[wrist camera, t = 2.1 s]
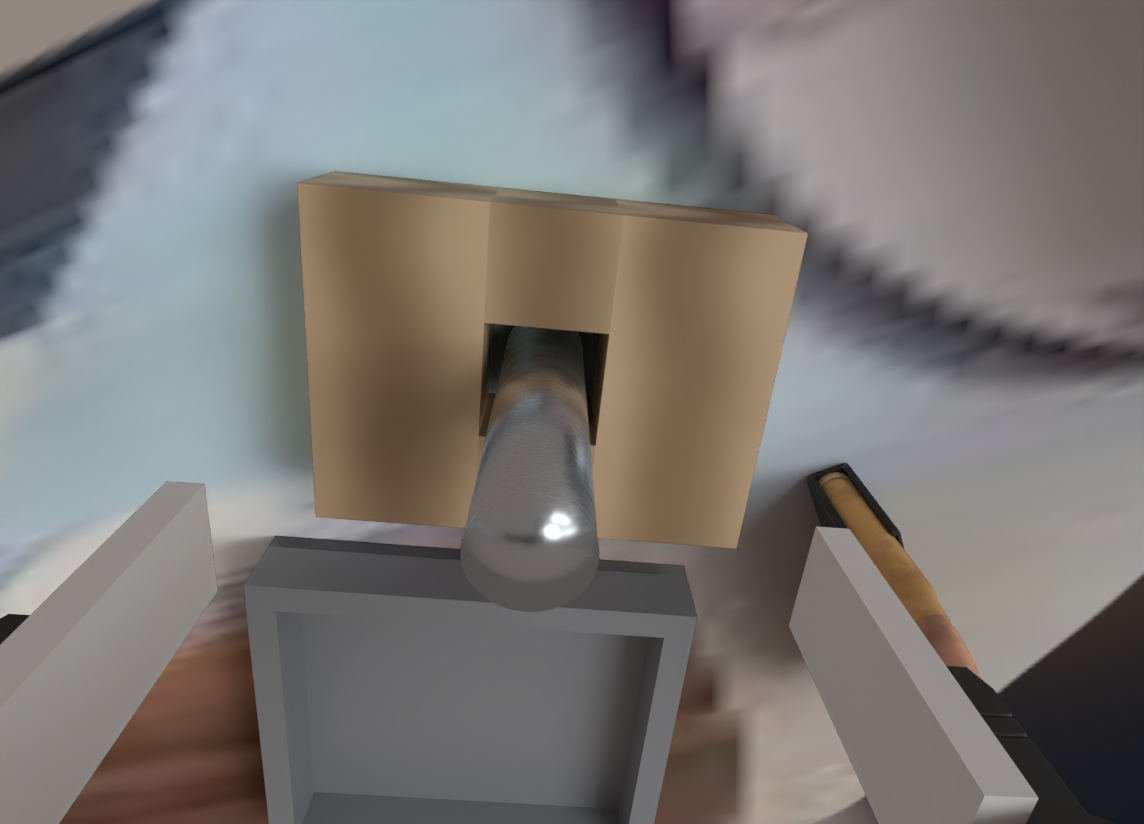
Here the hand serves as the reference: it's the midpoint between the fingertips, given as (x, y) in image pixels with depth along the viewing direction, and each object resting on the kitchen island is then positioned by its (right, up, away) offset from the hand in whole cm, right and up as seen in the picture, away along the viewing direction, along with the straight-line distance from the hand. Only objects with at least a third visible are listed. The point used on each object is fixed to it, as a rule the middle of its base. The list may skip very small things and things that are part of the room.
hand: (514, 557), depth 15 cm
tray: (-4, -11, +20) cm, 23 cm away
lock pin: (0, +6, +13) cm, 14 cm away
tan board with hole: (0, +6, +13) cm, 14 cm away
